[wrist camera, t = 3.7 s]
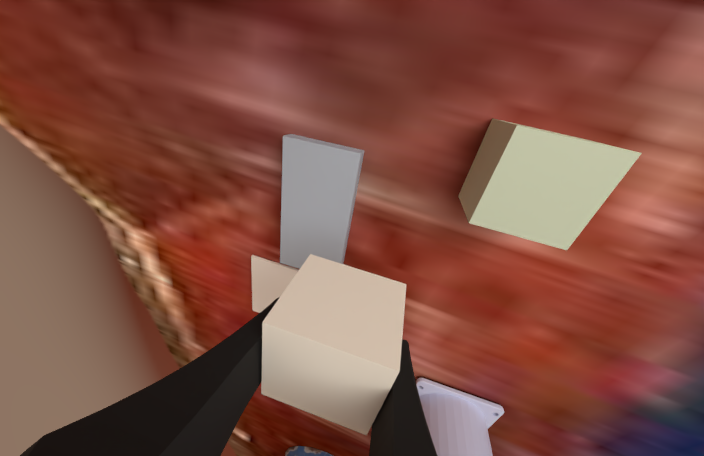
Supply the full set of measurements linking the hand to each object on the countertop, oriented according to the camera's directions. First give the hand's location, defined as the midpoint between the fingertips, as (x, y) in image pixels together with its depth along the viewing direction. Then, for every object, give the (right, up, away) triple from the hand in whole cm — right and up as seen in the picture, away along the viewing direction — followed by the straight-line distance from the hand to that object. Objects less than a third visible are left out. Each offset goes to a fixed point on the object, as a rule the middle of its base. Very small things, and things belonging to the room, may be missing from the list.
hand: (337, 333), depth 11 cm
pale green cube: (+10, +8, +3) cm, 13 cm away
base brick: (-2, +6, +8) cm, 10 cm away
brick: (0, +1, +1) cm, 2 cm away
